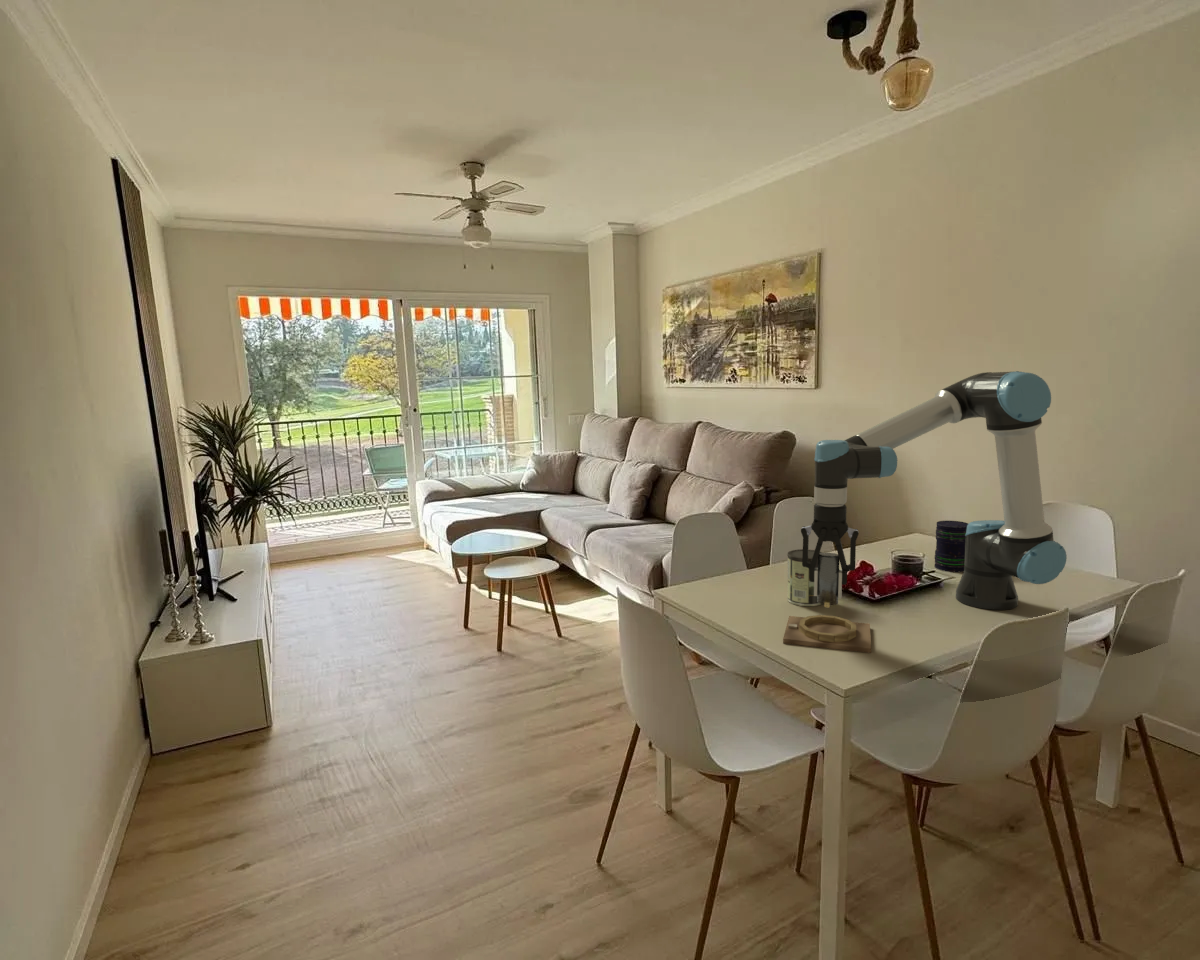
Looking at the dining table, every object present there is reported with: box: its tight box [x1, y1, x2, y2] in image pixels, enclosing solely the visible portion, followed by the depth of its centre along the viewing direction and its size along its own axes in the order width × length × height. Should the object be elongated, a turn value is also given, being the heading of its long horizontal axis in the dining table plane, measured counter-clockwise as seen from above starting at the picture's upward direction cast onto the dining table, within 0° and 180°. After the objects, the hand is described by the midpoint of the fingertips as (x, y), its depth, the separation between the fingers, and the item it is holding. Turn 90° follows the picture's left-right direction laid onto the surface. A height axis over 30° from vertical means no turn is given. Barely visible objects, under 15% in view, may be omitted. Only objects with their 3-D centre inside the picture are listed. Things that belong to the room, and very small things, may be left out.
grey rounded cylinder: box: [817, 552, 840, 609], centre depth 162 cm, size 5×8×12 cm, turn 159°
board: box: [782, 614, 872, 654], centre depth 164 cm, size 20×16×3 cm
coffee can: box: [786, 548, 823, 607], centre depth 189 cm, size 10×10×14 cm
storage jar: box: [933, 520, 969, 573], centre depth 215 cm, size 10×10×15 cm
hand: (827, 595), depth 163 cm, fingers closed on grey rounded cylinder, 5 cm apart
